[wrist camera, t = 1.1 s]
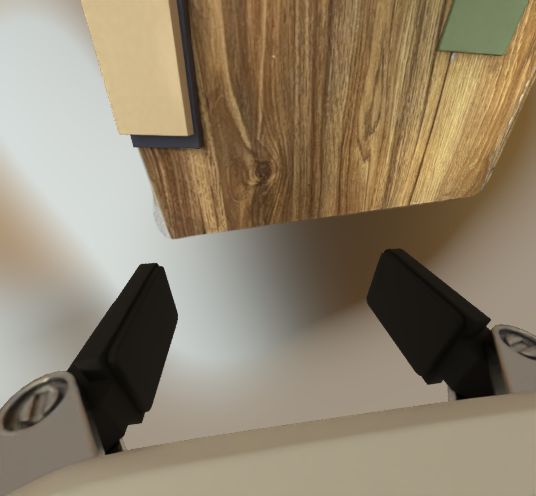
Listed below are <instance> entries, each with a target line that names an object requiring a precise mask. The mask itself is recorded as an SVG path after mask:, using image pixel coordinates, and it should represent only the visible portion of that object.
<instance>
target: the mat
mask: <svg viewBox="0 0 536 496" xmlns="http://www.w3.org/2000/svg"><path fill="white" fill-rule="evenodd" d="M528 2H529V0H453V2H452V5H451V9H450V12H449V15H448V18H447V21H446V24H445V27H444V30H443V33H442V36H441V39H440V42H439V45H438V48H437V50H438V51H450V52H462V53H473V54H485V55H497V56H503V55H505V52H506V50H507V48H508V46H509V44H510V41H511V39H512V37H513V35H514V33H515V30H516V28H517V26H518V24H519V22H520V19H521V17H522V15H523V13H524V11H525V8H526V6H527V4H528Z"/></svg>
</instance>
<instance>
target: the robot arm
mask: <svg viewBox="0 0 536 496" xmlns="http://www.w3.org/2000/svg"><path fill="white" fill-rule="evenodd" d="M367 303H368V305H369V307H370V308H371V309H372V311H373V312H374V314H375V315H376V317H377V318H378V319H379V321H380V322H381V324H382V325H383V327H384V328H385V329H386V331H387V332H388V333H389V335H390V336H391V338H392V339H393V341H394V342H395V344H396V345H397V346H398V348H399V349H400V351H401V352H402V354H403V355H404V356H405V358H406V359H407V361H408V362H409V364H410V365H411V366H412V368H413V369H414V371H415V372H416V373H417V374H418V375H420V376H422V378H423V379H424V381H425V382H426V383H427V384H436V383H441V382H442V381H443V380H444V381H445V382H446V384H447V385H448V400H449V401H448V402H442V403H435V404H428V405H420V406H413V407H407V408H399V409H392V410H385V411H378V412H371V413H364V414H357V415H350V416H344V417H337V418H330V419H323V420H316V421H309V422H302V423H296V424H289V425H282V426H275V427H269V428H263V429H256V430H249V431H243V432H236V433H229V434H222V435H216V436H210V437H202V438H196V439H190V440H184V441H179V442H173V443H166V444H161V445H155V446H150V447H143V448H137V449H131V450H127V449H126V447H125V444H124V441H123V439H122V437H123V436H124V435H125V432H126V429H127V426H128V425H132V424H139V423H142V421H143V417H144V414H145V412H147V411H149V410H150V409H151V407H152V404H153V400H154V397H155V394H156V390H157V387H158V384H159V381H160V377H161V374H162V371H163V367H164V364H165V361H166V357H167V354H168V351H169V348H170V344H171V341H172V338H173V334H174V331H175V328H176V324H177V320H178V313H177V310H176V306H175V303H174V300H173V296H172V293H171V290H170V287H169V283H168V280H167V277H166V273H165V270H164V268H163V267H162V266H159V265H158V264H157V263H149V264H141V265H139V267H138V268H137V270H136V271H135V273H134V274H133V276H132V277H131V279H130V280H129V282H128V283H127V284H126V286H125V287H124V289H123V290H122V292H121V293H120V295H119V296H118V298H117V299H116V301H115V302H114V303H113V304H112V306H111V307H110V308H109V310H108V311H107V313H106V314H105V316H104V317H103V319H102V320H101V322H100V323H99V325H98V326H97V327H96V329H95V330H94V332H93V333H92V335H91V336H90V338H89V339H88V341H87V342H86V344H85V345H84V347H83V348H82V349H81V351H80V352H79V354H78V355H77V357H76V358H75V360H74V361H73V363H72V364H71V366H70V367H69V369H68V370H67V371H58V372H53V373H50V374H46V375H44V376H42V377H40V378H38V379H36V380H34V381H32V382H30V383H29V384H27V385H26V386H25V387H23V388H21V389H20V390H19V391H18V392H17V393H16V394H14V395H13V396H12V397H11V398H10V399H9V400H8V401H7V402H6V403H5V405H4V406H3V407H2V408H1V409H0V496H536V336H535V335H533V334H531V333H529V332H527V331H525V330H522V329H520V328H517V327H514V326H510V325H502V324H500V325H495V326H494V327H493V328H492V329H491V330H489V329H488V328H487V327H486V326H487V324H488V323H489V322H490V321H491V319H490V318H489V317H487V316H486V315H485V314H484V313H482V312H481V311H480V310H479V309H477V308H476V307H475V306H473V305H472V304H471V303H470V302H468V301H467V300H466V299H465V298H463V297H462V296H461V295H459V294H458V293H457V292H456V291H454V290H453V289H452V288H451V287H449V286H448V285H447V284H446V283H444V282H443V281H442V280H441V279H439V278H438V277H437V276H435V275H434V274H433V273H432V272H430V271H429V270H428V269H427V268H425V267H424V266H423V265H422V264H420V263H419V262H418V261H417V260H415V259H414V258H413V257H411V256H410V255H409V254H408V253H406V252H405V251H404V250H402V249H387V250H385V251H384V253H382V254H381V256H380V259H379V262H378V265H377V268H376V271H375V274H374V277H373V280H372V283H371V286H370V289H369V292H368V295H367Z"/></svg>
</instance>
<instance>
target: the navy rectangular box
mask: <svg viewBox="0 0 536 496" xmlns="http://www.w3.org/2000/svg"><path fill="white" fill-rule="evenodd" d="M177 7H178V15H179V23H180V31H181V38H182V46H183V54H184V61H185V69H186V77H187V85H188V92H189V100H190V108H191V116H192V123H193V131H194V134H193V135H189V136H161V135H131V139H132V143H133V147H146V148H195V149H200V148H201V147H202V146H203V140H202V131H201V122H200V113H199V104H198V95H197V86H196V77H195V68H194V59H193V50H192V42H191V33H190V24H189V15H188V6H187V0H177Z"/></svg>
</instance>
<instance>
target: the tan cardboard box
mask: <svg viewBox="0 0 536 496" xmlns="http://www.w3.org/2000/svg"><path fill="white" fill-rule="evenodd" d="M81 4H82V7H83V11H84V14H85V18H86V21H87V24H88V28H89V32H90V35H91V39H92V42H93V45H94V49H95V52H96V56H97V59H98V63H99V66H100V70H101V73H102V76H103V80H104V83H105V87H106V91H107V94H108V98H109V101H110V104H111V108H112V111H113V115H114V118H115V121H116V125H117V129H118V132H119V134H125V135H161V136H189V135H193V134H194V131H193V123H192V116H191V108H190V100H189V92H188V85H187V77H186V69H185V61H184V54H183V46H182V38H181V31H180V23H179V15H178V7H177V0H81Z"/></svg>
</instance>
